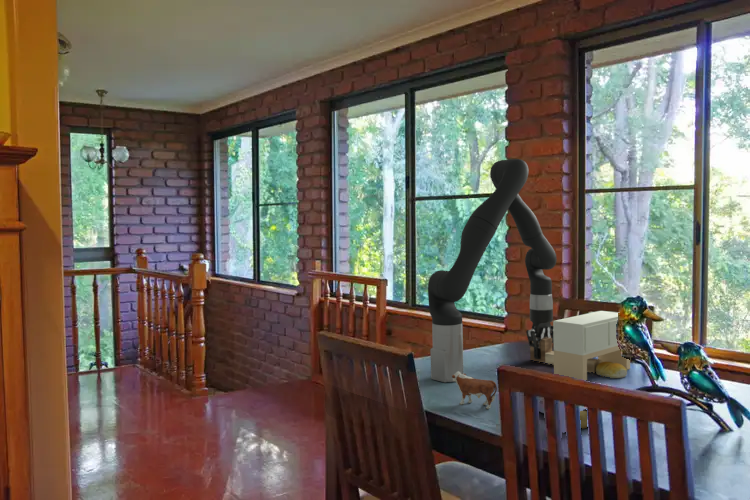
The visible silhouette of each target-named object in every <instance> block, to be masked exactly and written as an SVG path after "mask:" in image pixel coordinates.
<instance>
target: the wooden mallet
mask: <svg viewBox="0 0 750 500" xmlns="http://www.w3.org/2000/svg"><path fill="white" fill-rule="evenodd" d="M536 338H537V337H536ZM537 339H539V338H537ZM532 343H533V341H532ZM537 344H538V341H537ZM529 353H530V354H529V356H530V357H529V359H530V360H534V361H539V362H538V363H540V362H545V363H548V364H547V365H550V364H552V365H551V366H554V350H553V343H552V338H547V337H543V339H542V342H541V359H535V358H534V348H533V347H531V346H529ZM534 361H533V362H534ZM545 363H544V364H545ZM600 363H601V360H599V359H598V358H590V359H587V373H591V372H593V374H596V373H595V372H596V367H597V365H598V364H600Z"/></svg>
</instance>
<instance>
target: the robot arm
mask: <svg viewBox="0 0 750 500" xmlns="http://www.w3.org/2000/svg"><path fill="white" fill-rule="evenodd" d="M528 176H529V166H528V164H527V162H526V161H524V160H523V159H519V158H510V159H508V158H507V159H499V160H497V161H495V162H494V163H493V164H492V165H491V167H490V170H489V177H490V180H491V182H492V184H493V186H494V188H495V190H494V191H493V193H491V194H490V195H489V197H488V198H486V199H485V200H484V201H483V202H482V203H480V204H479V206H478V207H477V208H476V209H474V211H473V212H472V213H471V214H470V216H469V217H468V219H467V221H466V223H465V225H464V227H463V228H462V231H461V236H460V247H459V253H458V256H457V257H456V260H455V261H454V263H453V265H452V267H451V268H450V269H449V270H444V269H443V270H437V271H435V272H433V273H432V274H431V275H430V277H429V279H428V284H427V295H428V297H427V298H428V309H429V315H430V317H431V323H432V324H431V325H432V327H431V329H432V334H431V335H432V348H430V352H429V353H430V379H431V380H434V381H439V382H442V383H451V382H452V383H454V382H455V381H453V378H452V375H454V374H455V373H456V372H458V371H459V372H460V373H461V374H464V343H463V342H464V339H463V336H464V335H463V314H462V312H460V310H459V309H458V308H457V306H456V304H455V303H456V302H458V301H460V300H461V299H462V298H463V297H464V296H465V294H466V293H467V290H468V288H469V286H470V283H471V281H472V278H473V277H474V275H475V274H474V273H475V272H476V269H477V267H478V265H479V263H480V261H481V259H482V258H483V256H484V254H485V251H486V250H487V248H488V246H489V245H490V243H491V242H492V239H493V237H494V235H495V233H496V232H497V230H498V228H499V226H500V224H501V222H502V220H503V219H504V217H505V215H506V213H507V212H509V213H510V215H511V218H512V219H513V222H514V224H515V225H516V226H515V227H516V229H517V231H518V234H519V235H520V238H521V241H522V243H523V245H525V246H526V247H529V248H530V249H528V250H527V251H526V254H525V258H524V261H525V262H524V264H525V268H526V271H527V272H526V273H527V276H528V279H529V281H530V282H529V283H530V287H529V289H530V290H529V291H530V296H529V321H530V322H531V323H532V325H531V328H530V329H527V330H526V332H525V333H526V337H527V341H528V345H529V347H530V346H531V347H533V348H534V358H535V359H541V342H542V339H543V337H547V338H552V344H554V339H553V325H552V324H551V323H553V321H554V304H553V303H554V300H553V289H552V288H553V284H552V283H553V282H552V278H551V277H550V276H547V275H545V274H544V270H547V271H548V270H551V269H553V268H554V267H555V266H556V264H557V253H556V251H555V249H554V248H553V246H552V245H551V243H550V242H549V241H548V239H547V238H546V236H545V235H544V232H543V230H542V228H541V225H540V223H539V219H538V218H537V216H536V215H535V213H534V212H533V211H532V209H531V208H530V207H529V206H528V204H526V202H524V200H523V198H522V197H521V196H520V194H519V193H520V192H521V191H522V189H523V187H524V186H525V184H526V183H527V181H528V179H529V178H528ZM536 337H537V338H539V339H537V338H536ZM532 341H533V343H532ZM537 341H538V344H537ZM455 383H456V382H455Z"/></svg>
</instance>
